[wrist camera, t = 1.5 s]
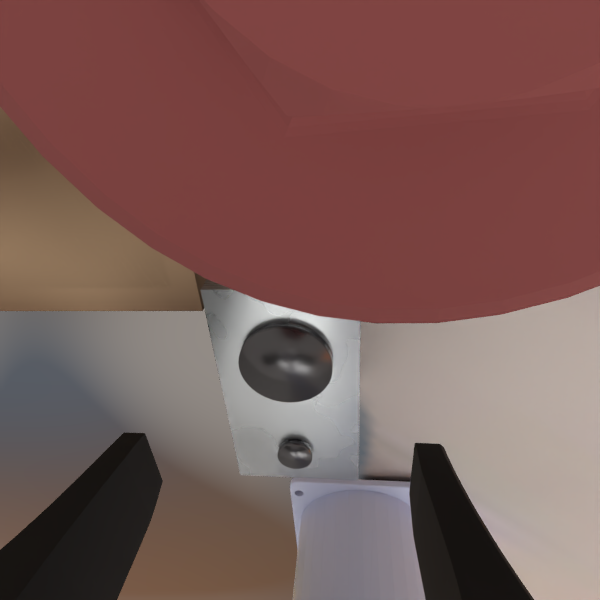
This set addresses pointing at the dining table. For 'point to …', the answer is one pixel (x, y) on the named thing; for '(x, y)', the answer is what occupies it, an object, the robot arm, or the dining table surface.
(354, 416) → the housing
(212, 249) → the mechanical component
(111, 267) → the stand
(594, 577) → the dining table surface
